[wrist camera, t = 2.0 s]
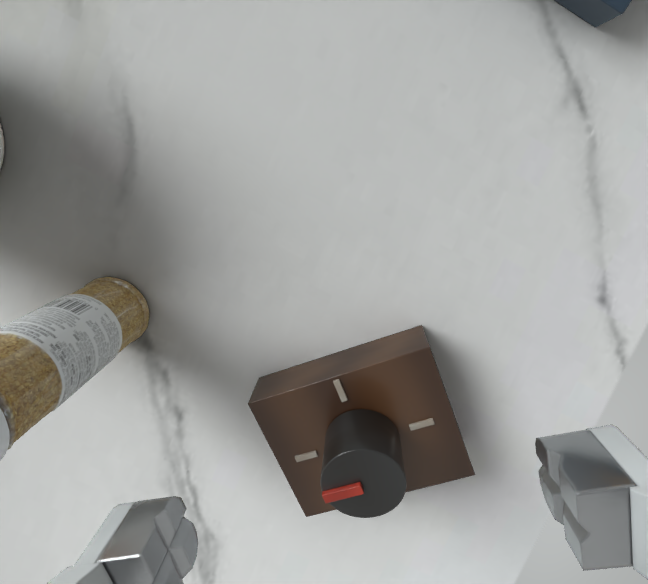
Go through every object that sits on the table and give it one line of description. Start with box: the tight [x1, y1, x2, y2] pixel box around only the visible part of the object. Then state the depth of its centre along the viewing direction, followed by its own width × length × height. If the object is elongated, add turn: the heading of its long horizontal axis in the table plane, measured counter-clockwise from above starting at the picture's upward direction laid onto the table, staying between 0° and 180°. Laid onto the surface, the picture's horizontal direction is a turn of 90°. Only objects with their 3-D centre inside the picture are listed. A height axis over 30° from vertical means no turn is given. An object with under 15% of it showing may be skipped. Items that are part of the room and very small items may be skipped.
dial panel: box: [248, 325, 475, 517], centre depth 26 cm, size 11×9×3 cm
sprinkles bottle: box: [0, 277, 149, 460], centre depth 20 cm, size 5×5×13 cm
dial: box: [320, 409, 406, 518], centre depth 23 cm, size 4×4×4 cm
